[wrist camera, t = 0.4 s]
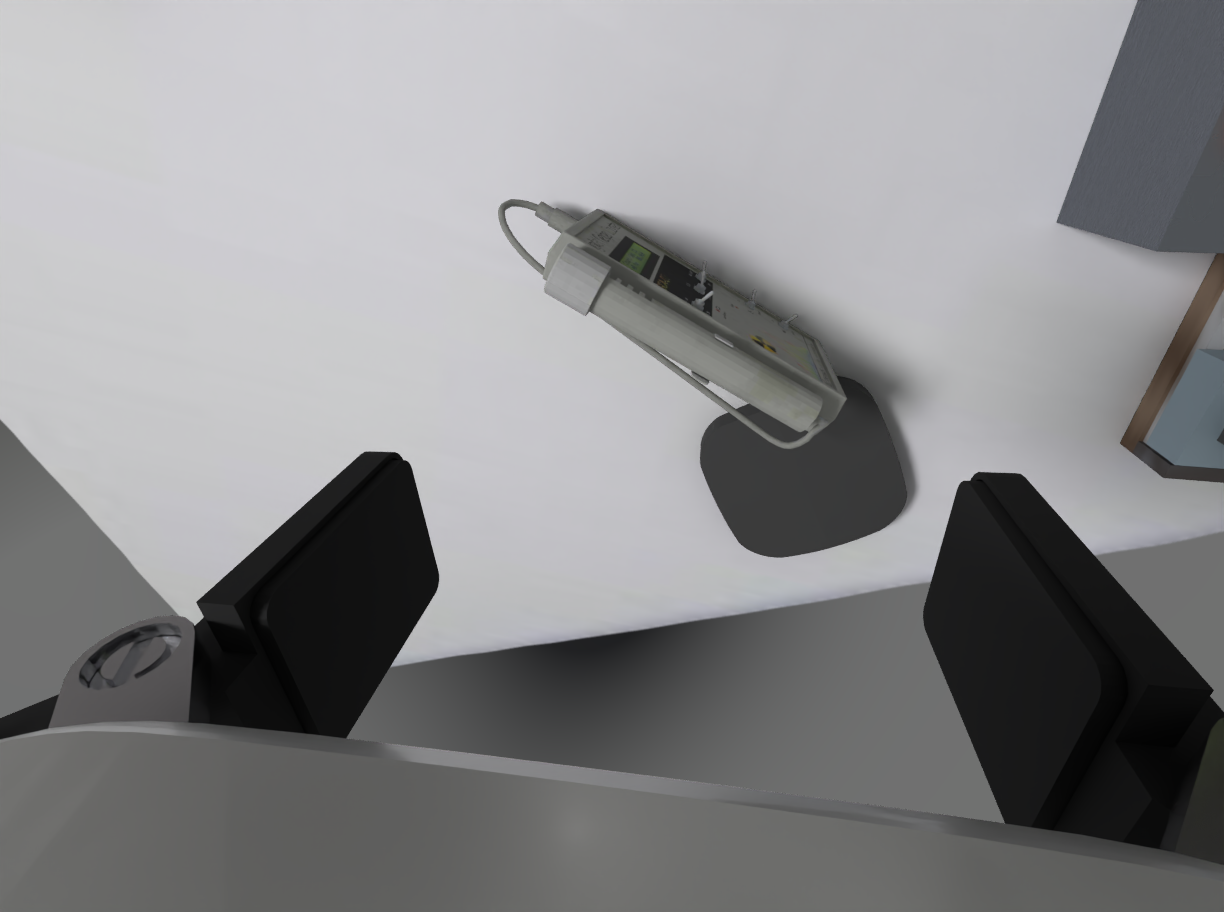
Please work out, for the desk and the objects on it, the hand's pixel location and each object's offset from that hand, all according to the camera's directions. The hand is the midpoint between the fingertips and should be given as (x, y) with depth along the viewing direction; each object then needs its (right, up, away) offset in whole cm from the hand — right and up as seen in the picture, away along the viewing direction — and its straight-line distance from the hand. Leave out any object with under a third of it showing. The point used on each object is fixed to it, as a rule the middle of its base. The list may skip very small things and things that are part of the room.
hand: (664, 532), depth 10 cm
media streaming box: (+15, +1, +40) cm, 42 cm away
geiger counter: (+3, +14, +33) cm, 37 cm away
